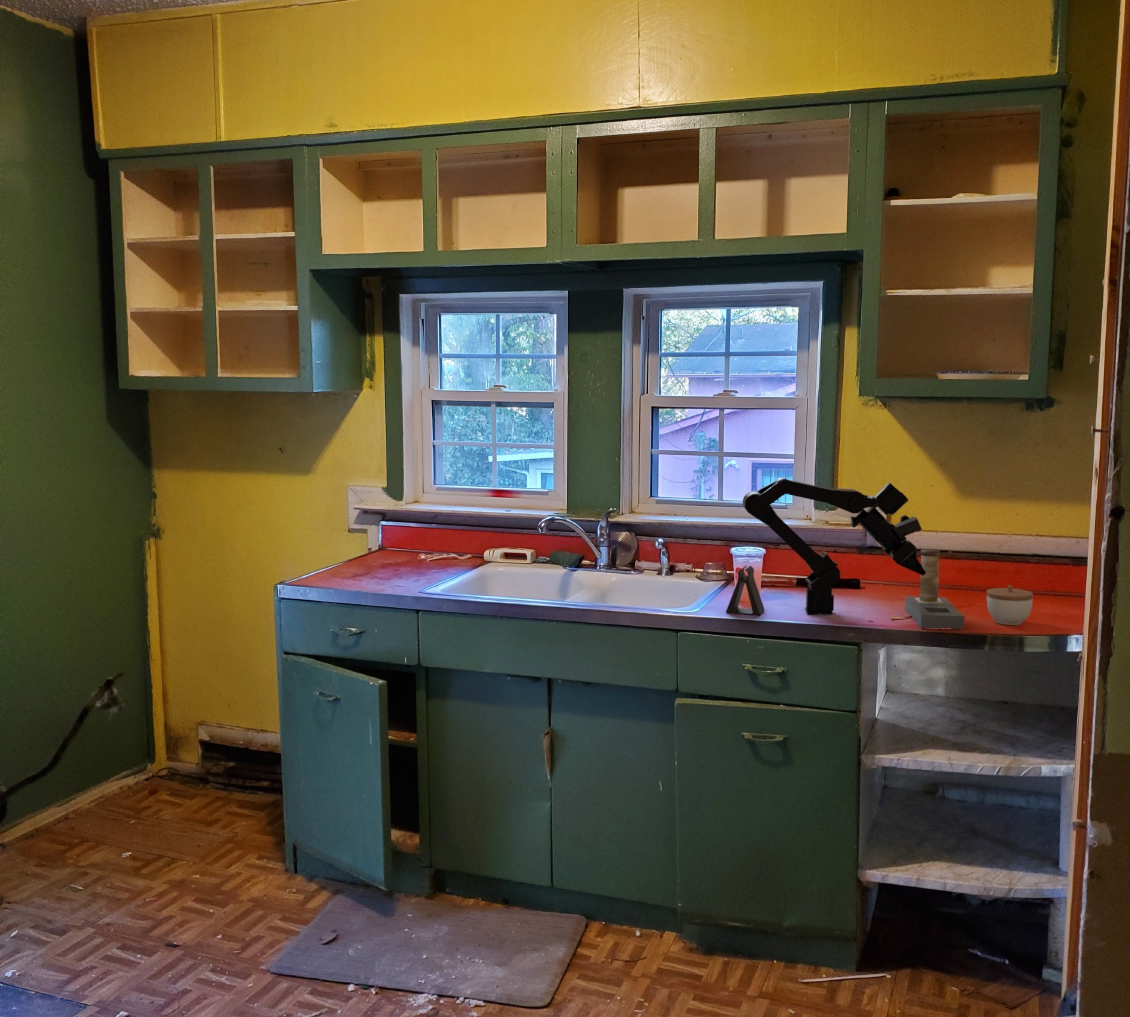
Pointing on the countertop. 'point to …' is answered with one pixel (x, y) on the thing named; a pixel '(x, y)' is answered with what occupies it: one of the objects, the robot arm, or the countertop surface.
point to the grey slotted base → (934, 613)
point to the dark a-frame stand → (752, 592)
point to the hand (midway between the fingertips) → (921, 571)
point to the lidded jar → (1009, 605)
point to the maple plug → (929, 575)
